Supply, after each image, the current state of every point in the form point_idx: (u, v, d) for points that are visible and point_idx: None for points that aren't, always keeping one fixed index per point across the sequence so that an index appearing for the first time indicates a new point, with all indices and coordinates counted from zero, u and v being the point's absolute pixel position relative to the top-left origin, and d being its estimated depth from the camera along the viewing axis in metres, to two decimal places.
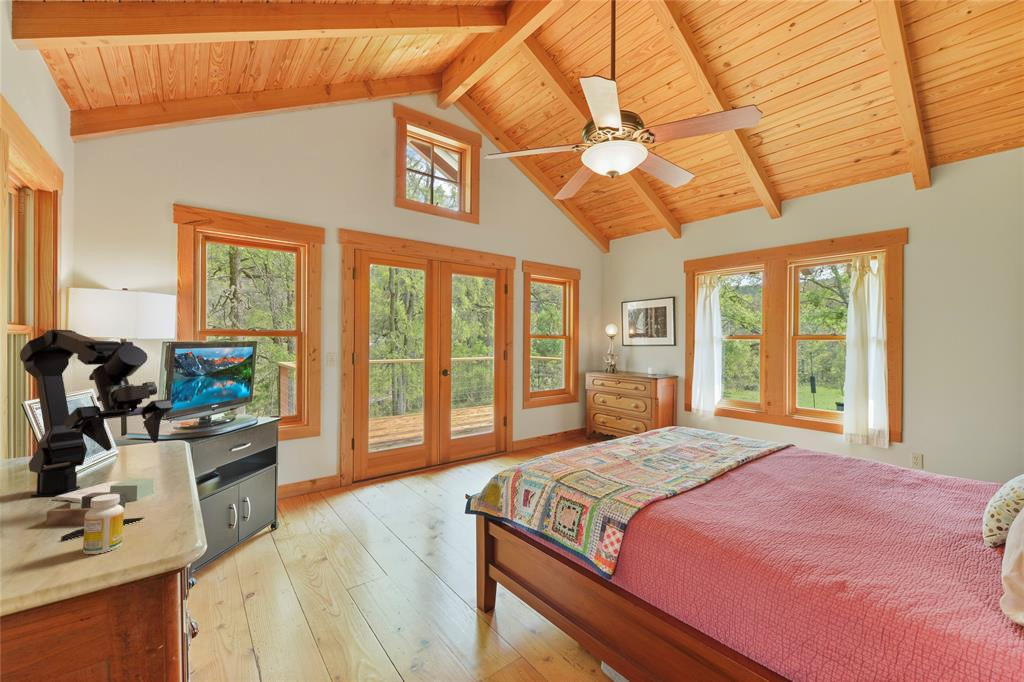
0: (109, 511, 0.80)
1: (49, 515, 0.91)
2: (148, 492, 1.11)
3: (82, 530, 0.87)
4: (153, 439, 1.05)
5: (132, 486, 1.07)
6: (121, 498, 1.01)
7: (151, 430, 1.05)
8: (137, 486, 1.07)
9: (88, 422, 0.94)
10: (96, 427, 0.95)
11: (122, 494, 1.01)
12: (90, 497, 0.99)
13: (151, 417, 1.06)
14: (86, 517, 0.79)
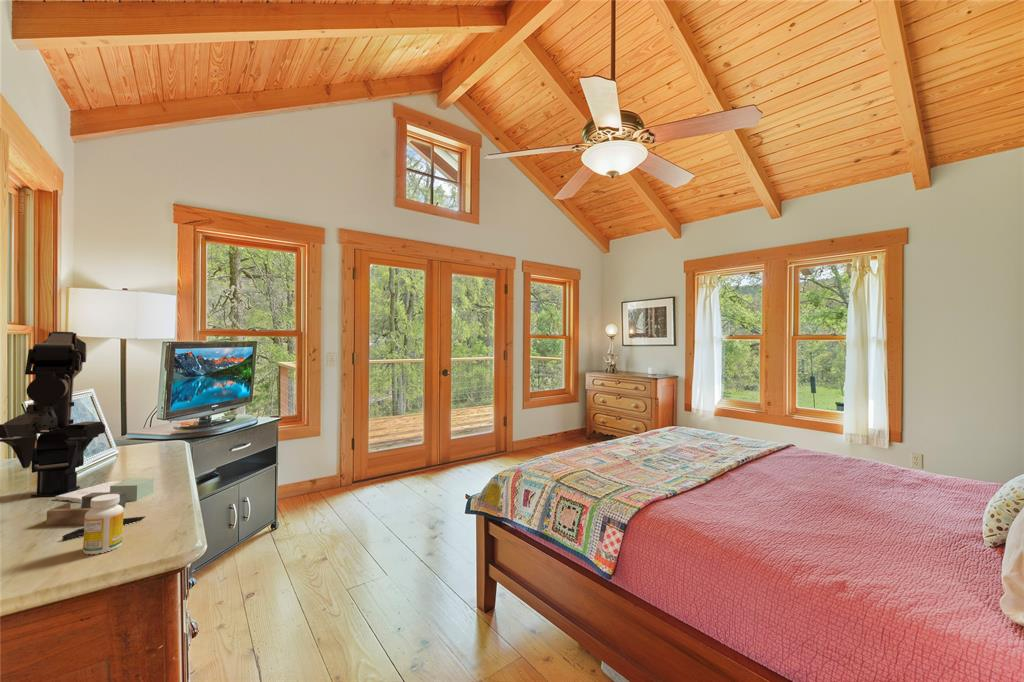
0: (109, 511, 0.80)
1: (49, 515, 0.91)
2: (148, 492, 1.11)
3: (83, 529, 0.87)
4: None
5: (132, 486, 1.07)
6: (121, 498, 1.01)
7: None
8: (137, 486, 1.07)
9: None
10: (11, 446, 0.97)
11: (122, 494, 1.01)
12: (90, 497, 0.99)
13: None
14: (86, 517, 0.79)
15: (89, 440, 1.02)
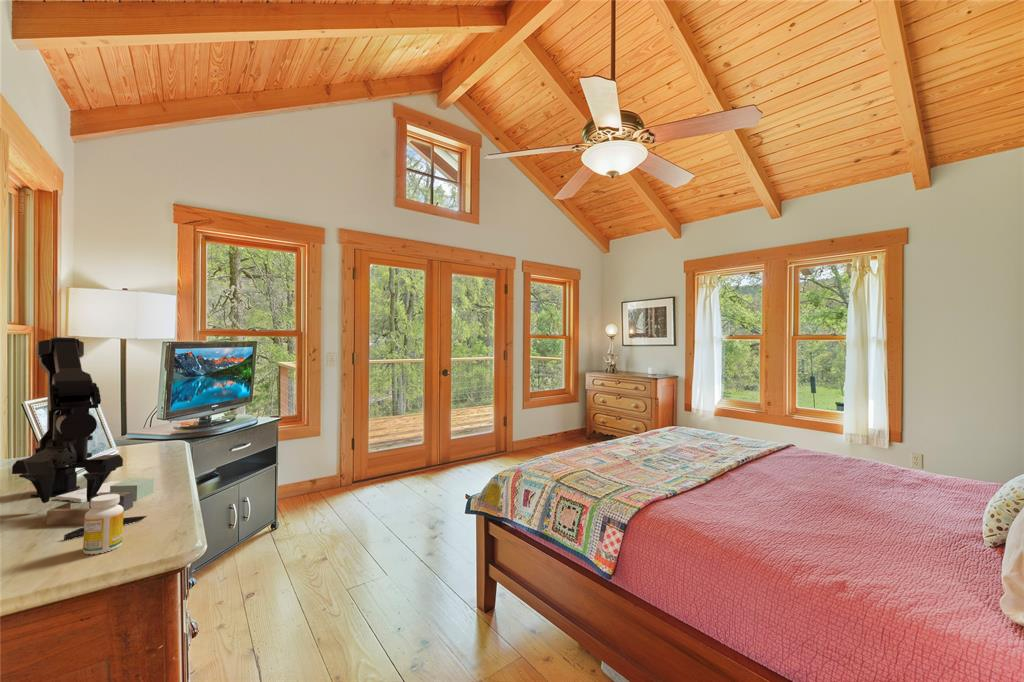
0: (109, 511, 0.80)
1: (49, 515, 0.91)
2: (148, 492, 1.11)
3: None
4: None
5: (132, 486, 1.07)
6: (129, 498, 1.01)
7: None
8: (137, 486, 1.07)
9: None
10: (32, 481, 0.97)
11: (130, 494, 1.01)
12: None
13: None
14: (86, 517, 0.79)
15: (107, 473, 1.02)
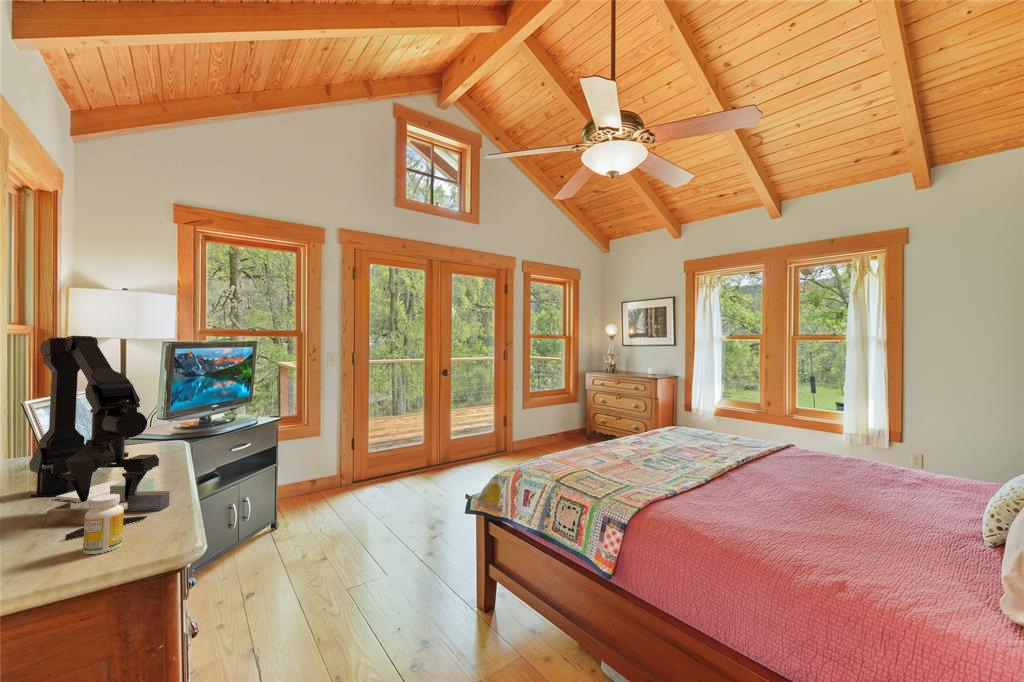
0: (109, 511, 0.80)
1: (49, 515, 0.91)
2: None
3: None
4: None
5: None
6: (166, 497, 1.02)
7: None
8: None
9: None
10: (71, 481, 0.98)
11: (166, 493, 1.02)
12: (136, 496, 1.00)
13: None
14: (86, 517, 0.79)
15: (143, 473, 1.03)
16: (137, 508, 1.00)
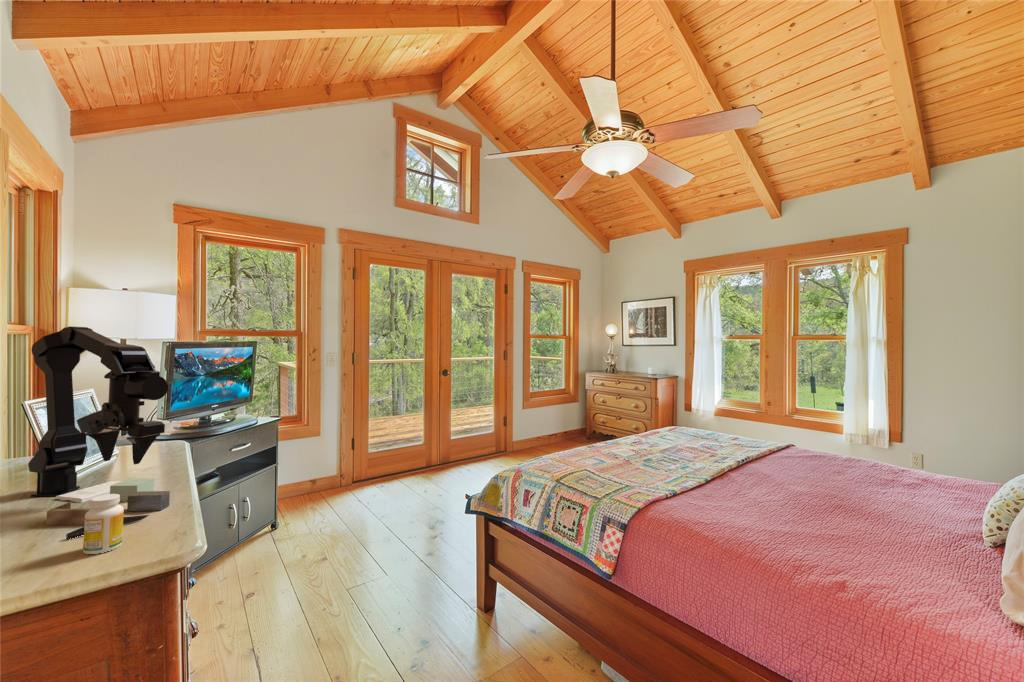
0: (109, 511, 0.80)
1: (49, 515, 0.91)
2: None
3: None
4: None
5: (132, 486, 1.07)
6: (166, 497, 1.02)
7: None
8: (137, 486, 1.07)
9: None
10: (95, 440, 1.05)
11: (166, 493, 1.02)
12: (136, 496, 1.00)
13: None
14: (86, 517, 0.79)
15: (152, 439, 1.06)
16: (137, 508, 1.00)
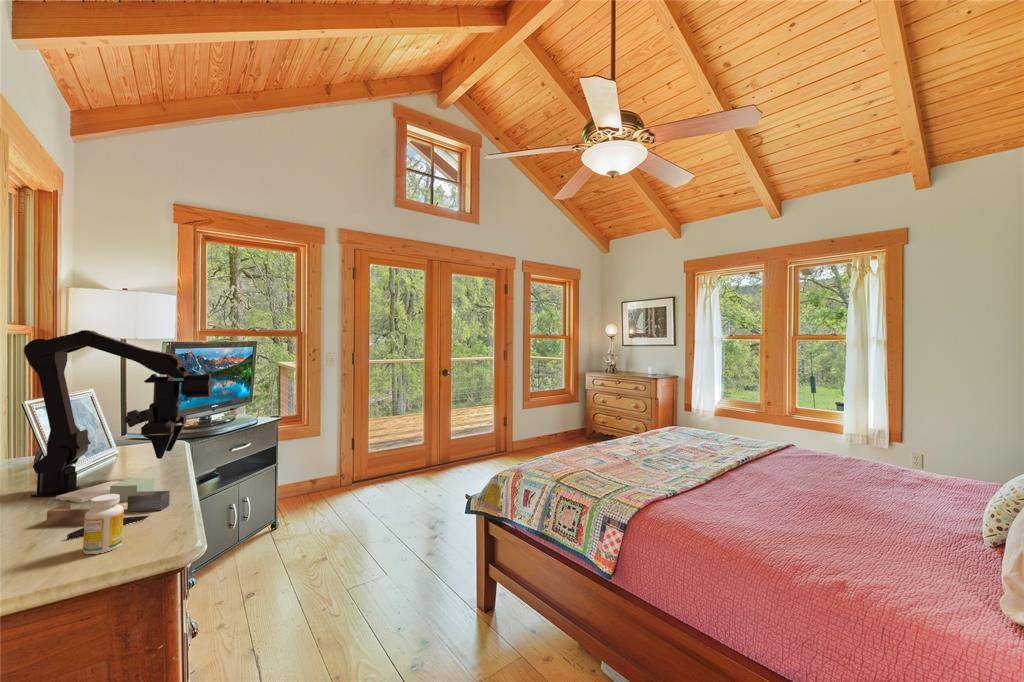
0: (109, 511, 0.80)
1: (49, 515, 0.91)
2: None
3: None
4: None
5: (132, 486, 1.07)
6: (166, 497, 1.02)
7: None
8: (137, 486, 1.07)
9: None
10: None
11: (166, 493, 1.02)
12: (136, 496, 1.00)
13: None
14: (86, 517, 0.79)
15: (167, 438, 1.16)
16: (137, 508, 1.00)
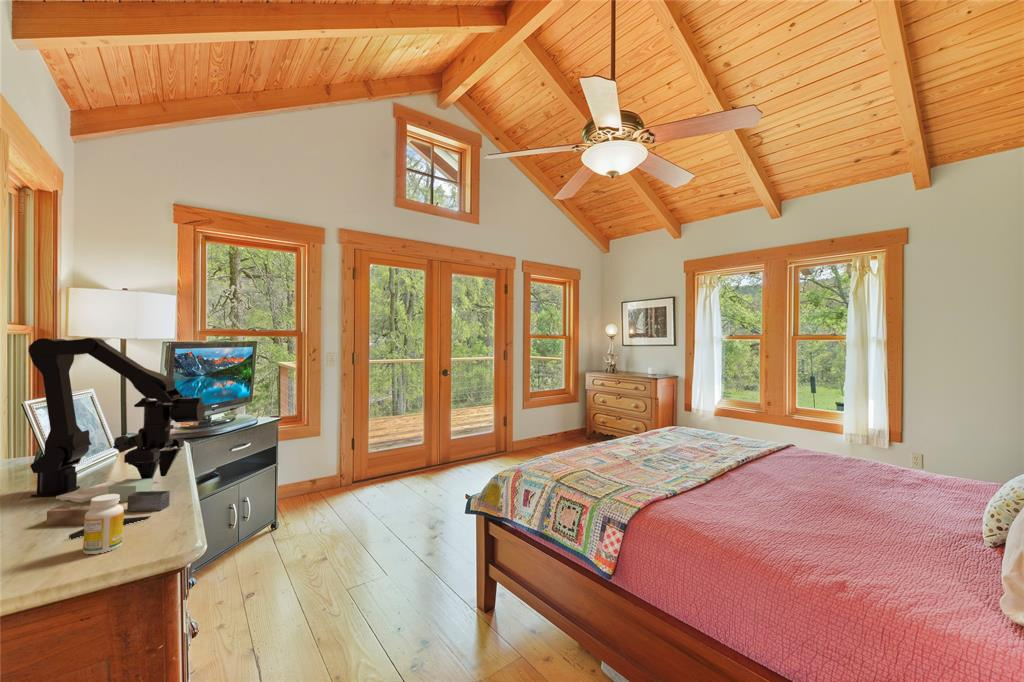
0: (109, 511, 0.80)
1: (49, 515, 0.91)
2: None
3: None
4: None
5: (131, 486, 1.06)
6: (166, 497, 1.02)
7: None
8: (136, 486, 1.06)
9: None
10: None
11: (166, 493, 1.02)
12: (136, 496, 1.00)
13: None
14: (86, 517, 0.79)
15: (153, 465, 1.12)
16: (137, 508, 1.00)
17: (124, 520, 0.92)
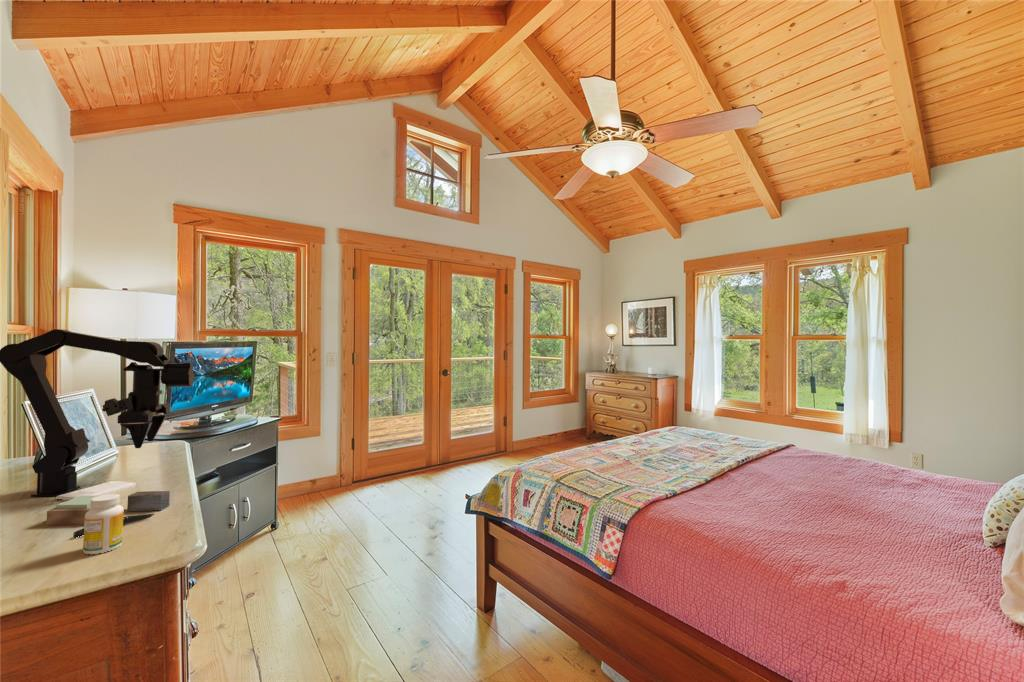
0: (109, 511, 0.80)
1: (49, 515, 0.91)
2: None
3: None
4: None
5: (81, 505, 0.93)
6: (166, 497, 1.02)
7: None
8: (87, 505, 0.94)
9: None
10: None
11: (166, 493, 1.02)
12: (136, 496, 1.00)
13: None
14: (86, 517, 0.79)
15: (145, 427, 1.14)
16: (137, 508, 1.00)
17: (128, 518, 0.93)
